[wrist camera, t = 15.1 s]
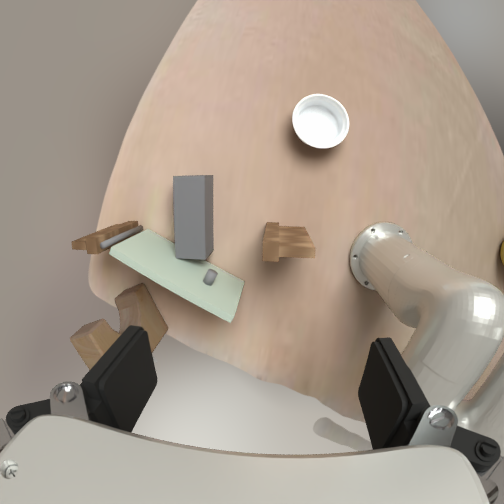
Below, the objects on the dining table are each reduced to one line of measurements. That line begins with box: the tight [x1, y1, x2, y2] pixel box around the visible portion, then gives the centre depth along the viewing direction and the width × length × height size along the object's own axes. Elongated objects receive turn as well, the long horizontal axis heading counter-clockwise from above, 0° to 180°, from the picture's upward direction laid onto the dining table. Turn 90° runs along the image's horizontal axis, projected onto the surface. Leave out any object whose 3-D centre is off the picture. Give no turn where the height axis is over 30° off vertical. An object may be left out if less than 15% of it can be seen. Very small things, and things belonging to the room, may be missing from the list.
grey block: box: [173, 175, 214, 260], centre depth 46 cm, size 5×13×6 cm, turn 179°
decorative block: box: [70, 283, 168, 370], centre depth 45 cm, size 11×6×20 cm, turn 22°
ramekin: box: [292, 94, 349, 149], centre depth 41 cm, size 9×9×4 cm
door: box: [100, 225, 245, 323], centre depth 43 cm, size 22×3×13 cm, turn 62°
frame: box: [72, 221, 315, 262], centre depth 42 cm, size 35×2×14 cm, turn 90°
